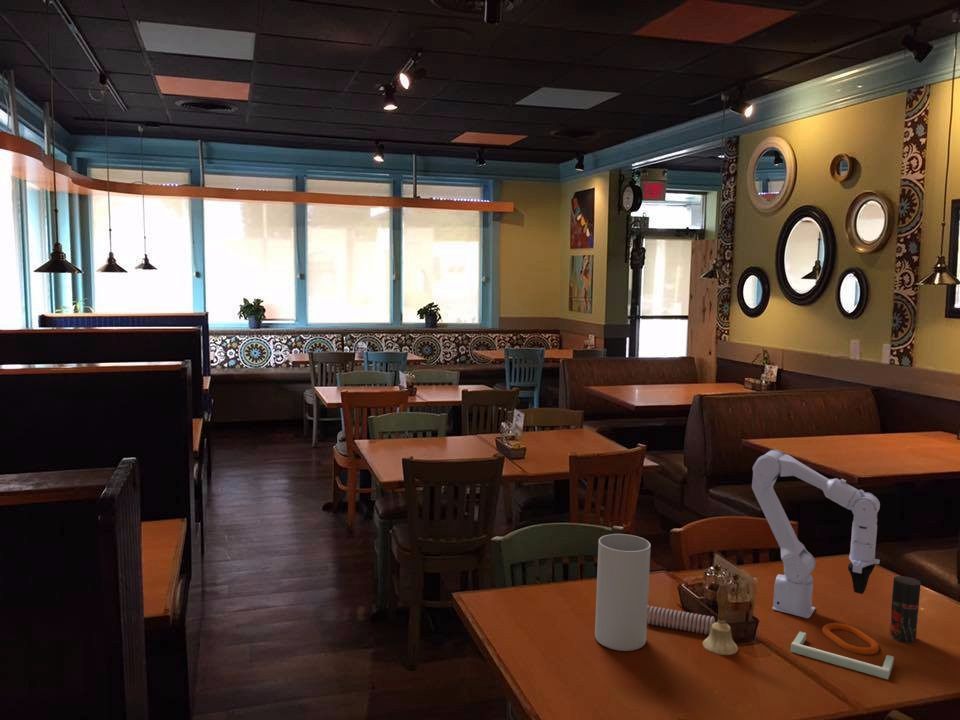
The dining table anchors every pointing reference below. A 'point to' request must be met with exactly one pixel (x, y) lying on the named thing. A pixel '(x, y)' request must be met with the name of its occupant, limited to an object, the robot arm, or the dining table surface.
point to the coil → (686, 617)
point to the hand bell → (721, 629)
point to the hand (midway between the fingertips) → (859, 591)
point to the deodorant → (904, 609)
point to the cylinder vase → (622, 591)
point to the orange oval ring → (848, 647)
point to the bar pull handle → (841, 658)
